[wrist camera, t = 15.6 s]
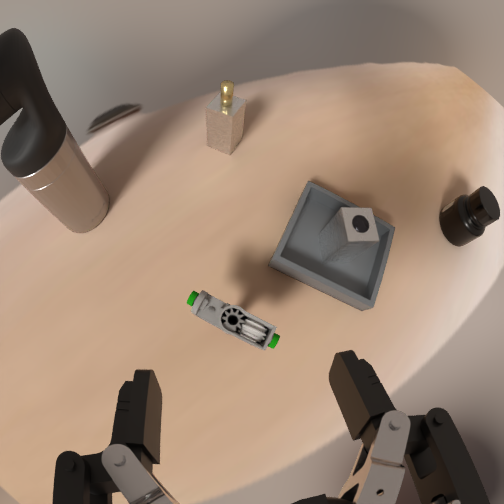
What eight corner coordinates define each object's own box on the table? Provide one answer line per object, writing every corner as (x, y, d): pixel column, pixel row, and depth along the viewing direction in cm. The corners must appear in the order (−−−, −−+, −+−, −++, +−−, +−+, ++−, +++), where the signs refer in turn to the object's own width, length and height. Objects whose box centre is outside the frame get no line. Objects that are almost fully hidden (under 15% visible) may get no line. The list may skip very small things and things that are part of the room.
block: (322, 263, 41) (348, 241, 32) (318, 235, 42) (341, 207, 33) (349, 262, 42) (379, 240, 33) (344, 234, 43) (371, 207, 34)
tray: (268, 265, 41) (272, 258, 37) (303, 190, 45) (308, 179, 42) (362, 311, 40) (373, 307, 37) (384, 233, 45) (395, 225, 41)
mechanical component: (202, 298, 38) (196, 283, 29) (269, 333, 38) (284, 329, 28) (192, 316, 37) (182, 308, 28) (259, 351, 37) (271, 354, 27)
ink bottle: (464, 215, 49) (498, 190, 38) (468, 251, 46) (507, 231, 35) (434, 202, 49) (469, 173, 37) (438, 241, 46) (479, 216, 34)
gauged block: (207, 146, 46) (205, 87, 34) (219, 130, 48) (221, 72, 35) (230, 155, 46) (234, 96, 33) (241, 138, 48) (248, 80, 35)
